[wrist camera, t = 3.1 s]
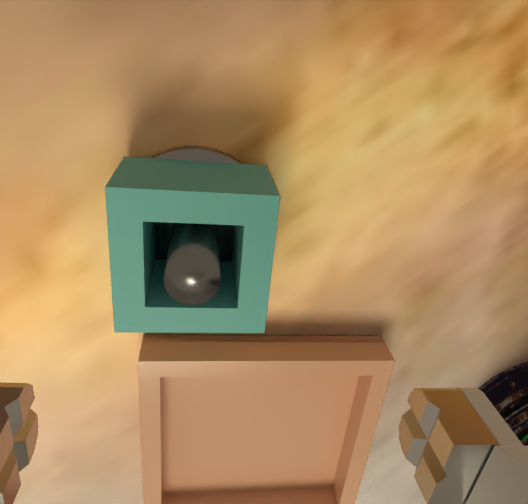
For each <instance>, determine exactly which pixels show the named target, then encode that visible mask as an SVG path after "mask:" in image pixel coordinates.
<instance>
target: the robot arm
mask: <svg viewBox="0 0 528 504" xmlns="http://www.w3.org/2000/svg"><path fill="white" fill-rule="evenodd" d="M34 398H35V397H34V392H33V386H32V385H30V384H28V383H1V382H0V504H13V502H14V500H15V497H16V495H17V492H18V490H19V488H20V485H21V483H20V477H19V471H21V470H22V469H23V468H24V467H26V466H27V465H28V464H29V463H30V460H31V458H32V455H33V452H34V449H35V445H36V440H37V436H38V419H37V414H36V413H35V412H34V411H33V410H31V409H30V407H31V405H32V403H33V401H34ZM408 403H409V405H410V407H411V409H409V410H408V411H407V412H406V413H405V414H403V415H402V418H401V421H400V425H399V440H400V444H401V448H402V451H403V453H404V455H405V457H406V459H407V460H408V461H410V462H411V463H412V464H413V465H414V466H416V467H417V468H416V471H415V475H414V477H415V479H416V481H417V484H418V486H419V488H420V490H421V492H422V494H423V496H424V499H425V501H426V503H427V504H528V446H523V444H522V443H521V442H520V440H519V439H518V438H517V436H516V435H515V434H514V432H513V431H512V430H511V428H510V427H509V426H508V424H507V423H506V422H505V420H504V419H503V418H502V416H501V415H500V414H499V412H498V411H497V410H496V408H495V407H494V406H493V405H492V403H491V402H490V401H489V399H488V398H487V397H486V395H485V394H484V393H483V392H482V391H481V390H479V389H478V388H456V389H454V388H415V389H414V390H413V391H412V392H411V393H410V396H409V398H408Z"/></svg>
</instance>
